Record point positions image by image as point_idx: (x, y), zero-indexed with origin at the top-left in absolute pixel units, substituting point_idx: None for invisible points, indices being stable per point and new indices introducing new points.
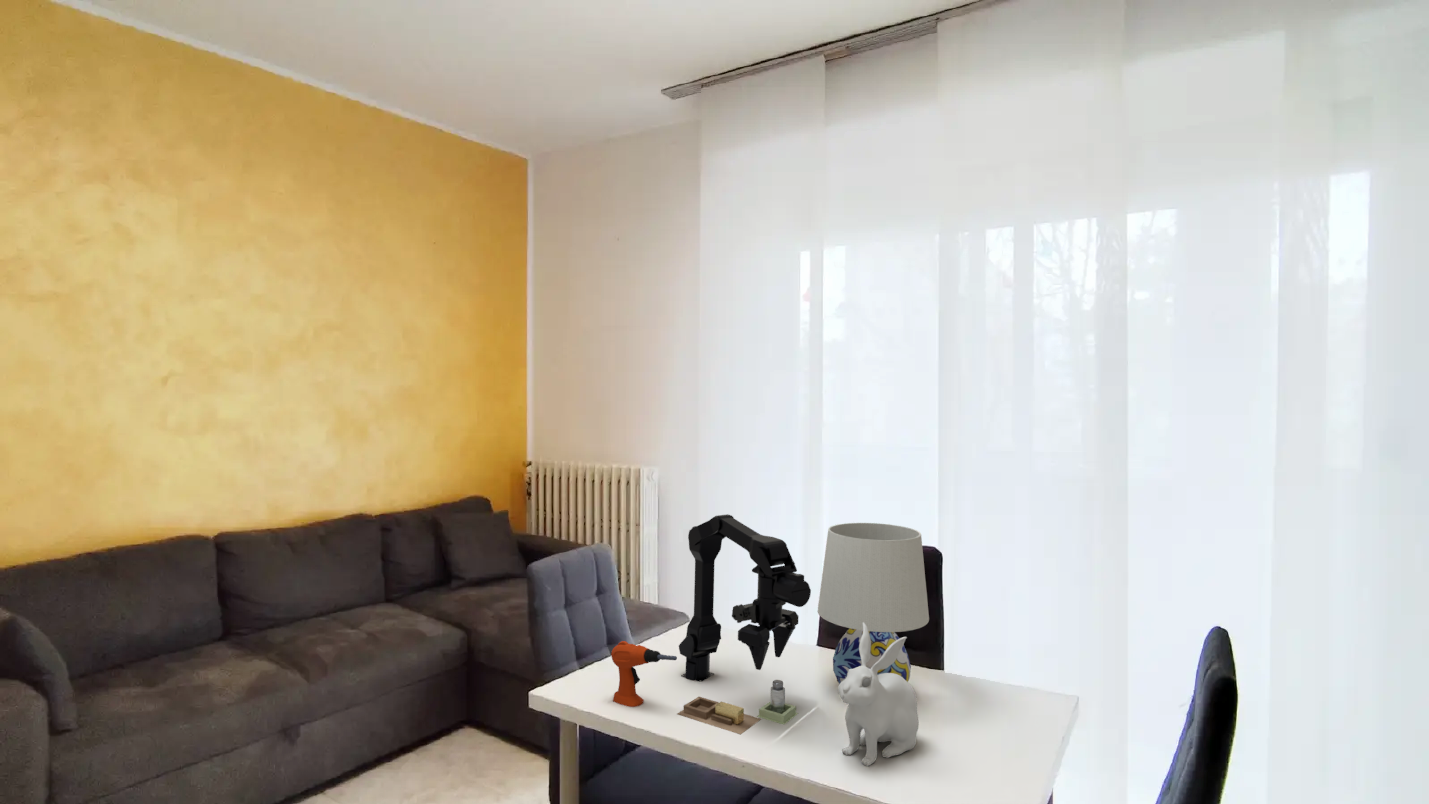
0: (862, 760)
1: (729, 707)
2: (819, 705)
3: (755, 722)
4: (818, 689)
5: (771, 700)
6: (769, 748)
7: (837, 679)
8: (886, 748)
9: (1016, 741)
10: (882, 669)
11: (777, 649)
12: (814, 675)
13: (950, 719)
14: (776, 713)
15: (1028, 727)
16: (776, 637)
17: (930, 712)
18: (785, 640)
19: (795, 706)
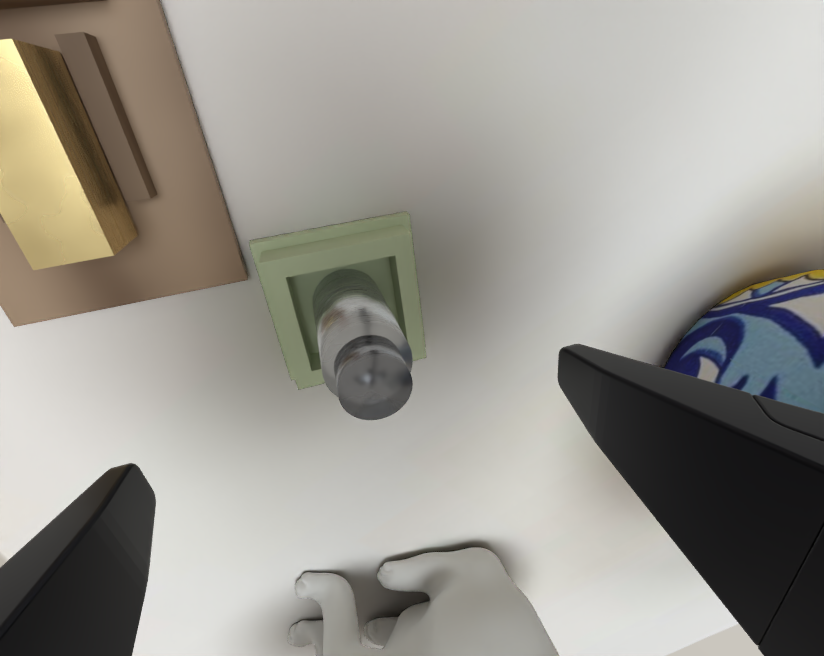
0: (291, 636)
1: (12, 176)
2: (553, 333)
3: (189, 287)
4: (686, 237)
5: (319, 322)
6: (91, 457)
7: (730, 331)
8: (381, 641)
9: (606, 651)
10: None
11: (609, 414)
12: (817, 128)
13: (644, 562)
14: (295, 352)
15: (672, 628)
16: (767, 492)
17: None
18: (711, 586)
19: (423, 356)
